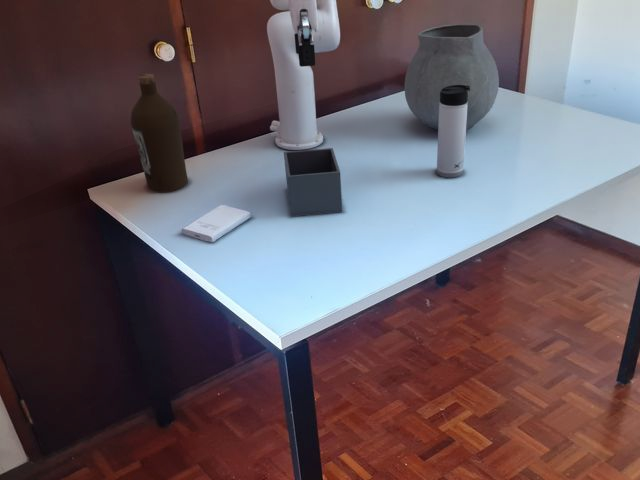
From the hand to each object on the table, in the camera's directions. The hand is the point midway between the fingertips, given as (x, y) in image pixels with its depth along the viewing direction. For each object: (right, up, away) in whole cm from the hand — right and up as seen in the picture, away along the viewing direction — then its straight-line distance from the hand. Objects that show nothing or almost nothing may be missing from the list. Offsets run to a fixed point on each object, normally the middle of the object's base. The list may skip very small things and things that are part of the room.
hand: (305, 59), depth 147 cm
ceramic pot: (+36, 0, +46) cm, 58 cm away
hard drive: (-19, -34, +3) cm, 39 cm away
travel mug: (+33, -18, +21) cm, 43 cm away
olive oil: (-34, -21, +21) cm, 45 cm away
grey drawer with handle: (+1, -25, +13) cm, 29 cm away
